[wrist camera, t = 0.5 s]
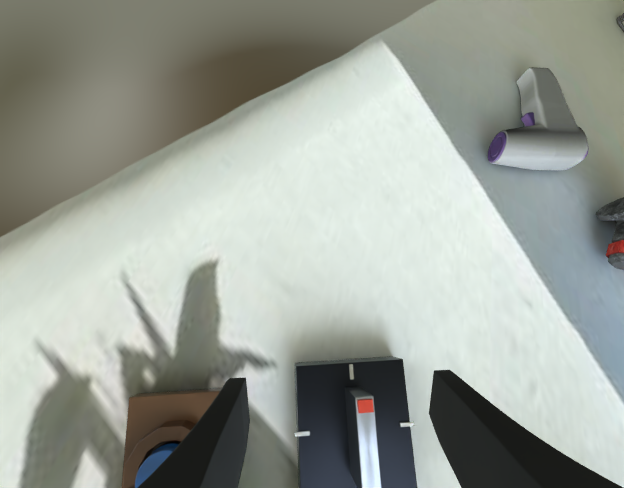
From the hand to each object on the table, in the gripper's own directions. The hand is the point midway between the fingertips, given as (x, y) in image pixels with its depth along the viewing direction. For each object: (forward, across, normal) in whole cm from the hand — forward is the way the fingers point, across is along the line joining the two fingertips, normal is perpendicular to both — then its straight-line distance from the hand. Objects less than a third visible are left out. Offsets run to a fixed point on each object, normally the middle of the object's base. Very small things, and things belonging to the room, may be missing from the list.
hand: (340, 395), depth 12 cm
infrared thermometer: (+37, -29, -12) cm, 49 cm away
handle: (+14, -3, +17) cm, 22 cm away
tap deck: (+16, -3, +19) cm, 25 cm away
